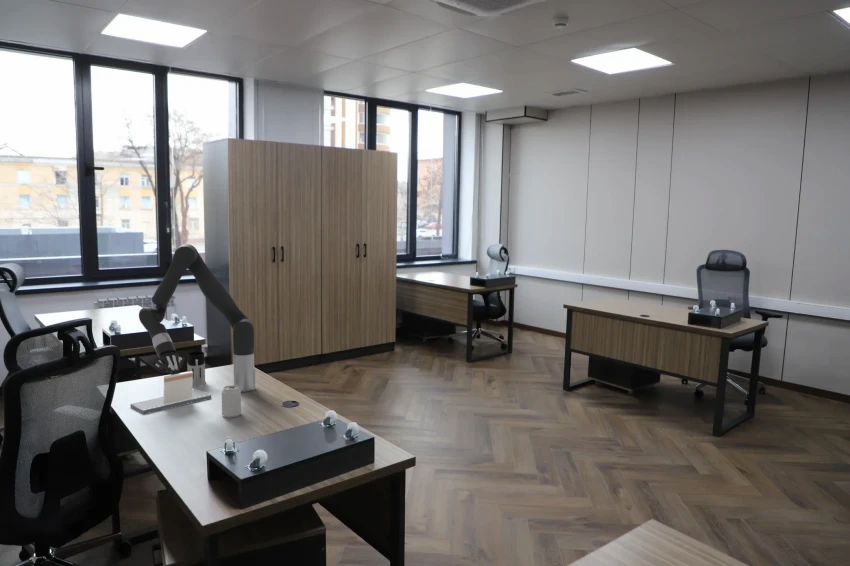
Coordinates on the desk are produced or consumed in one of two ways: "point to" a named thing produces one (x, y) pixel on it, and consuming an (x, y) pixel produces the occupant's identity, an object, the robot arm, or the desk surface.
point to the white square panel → (178, 387)
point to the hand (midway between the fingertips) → (177, 378)
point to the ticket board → (159, 405)
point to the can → (231, 401)
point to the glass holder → (197, 367)
